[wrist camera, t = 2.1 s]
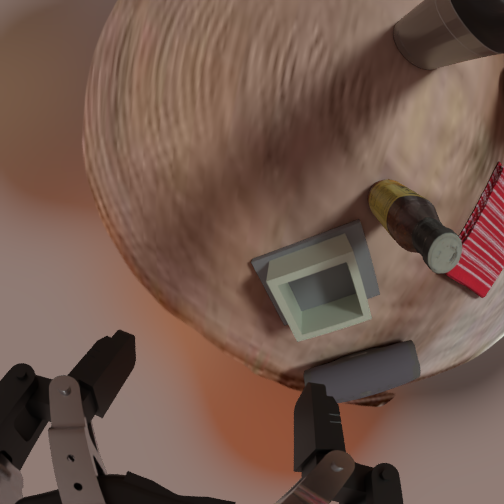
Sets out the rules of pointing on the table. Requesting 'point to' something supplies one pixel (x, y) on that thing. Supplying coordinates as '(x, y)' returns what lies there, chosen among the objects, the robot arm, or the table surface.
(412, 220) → the sauce bottle
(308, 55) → the table surface
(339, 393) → the bluetooth speaker
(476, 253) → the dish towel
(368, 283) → the bottle jig
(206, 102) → the table surface
